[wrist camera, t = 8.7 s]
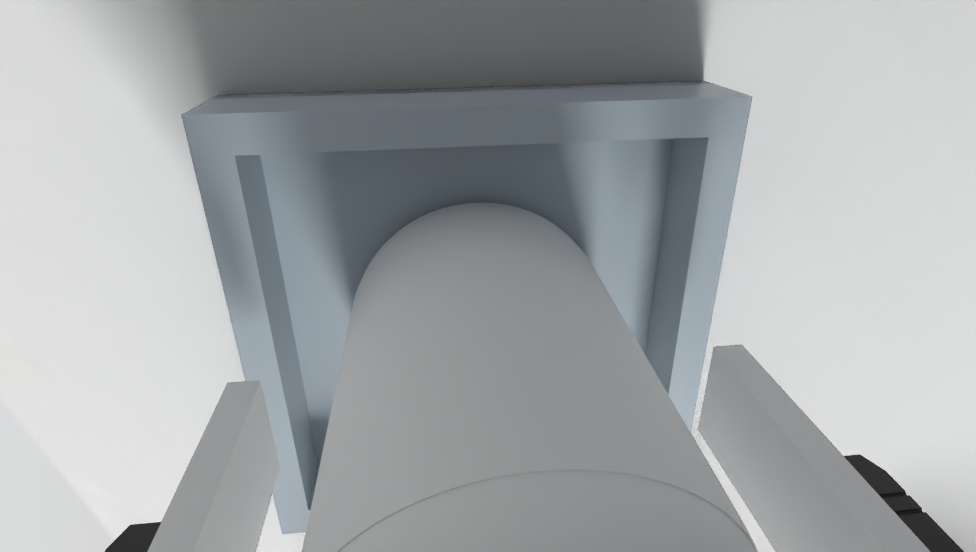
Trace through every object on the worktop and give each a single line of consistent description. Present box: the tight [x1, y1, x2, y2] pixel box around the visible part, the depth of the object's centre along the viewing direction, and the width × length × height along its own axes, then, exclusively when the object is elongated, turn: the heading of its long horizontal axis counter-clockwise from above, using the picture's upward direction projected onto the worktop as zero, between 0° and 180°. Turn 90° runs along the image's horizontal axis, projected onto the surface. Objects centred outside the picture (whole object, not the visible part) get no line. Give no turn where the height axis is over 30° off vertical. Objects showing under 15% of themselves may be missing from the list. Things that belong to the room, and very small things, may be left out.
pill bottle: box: [302, 203, 758, 552], centre depth 13 cm, size 8×8×15 cm
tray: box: [182, 81, 752, 534], centre depth 19 cm, size 14×14×3 cm
